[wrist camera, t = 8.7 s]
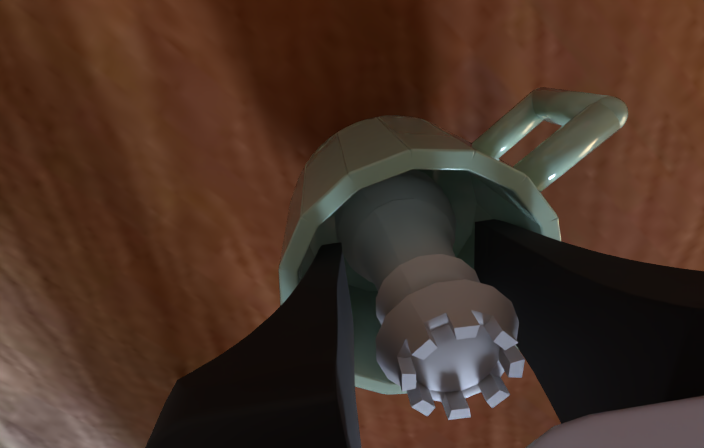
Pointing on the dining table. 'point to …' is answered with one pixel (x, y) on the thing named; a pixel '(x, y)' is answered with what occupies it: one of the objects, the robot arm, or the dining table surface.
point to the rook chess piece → (428, 297)
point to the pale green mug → (452, 176)
